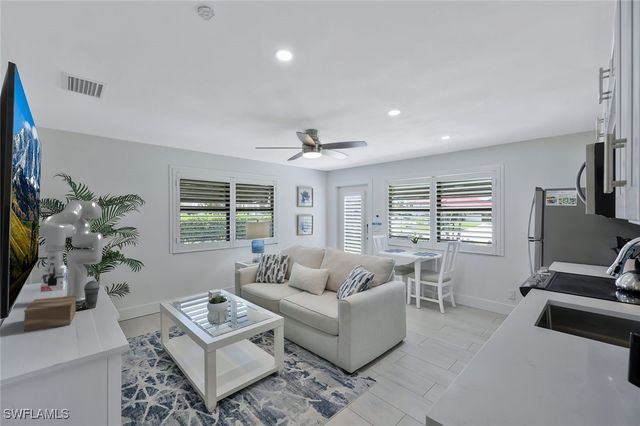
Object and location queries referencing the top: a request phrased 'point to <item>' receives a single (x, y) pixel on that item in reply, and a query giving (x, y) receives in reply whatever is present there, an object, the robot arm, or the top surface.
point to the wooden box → (49, 318)
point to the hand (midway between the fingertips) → (53, 284)
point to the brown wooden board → (51, 303)
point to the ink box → (60, 280)
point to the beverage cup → (91, 293)
